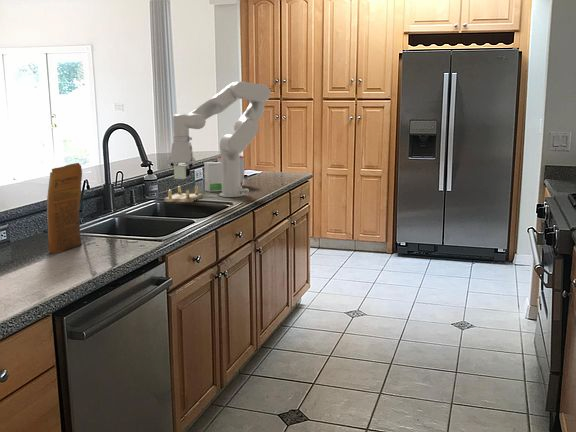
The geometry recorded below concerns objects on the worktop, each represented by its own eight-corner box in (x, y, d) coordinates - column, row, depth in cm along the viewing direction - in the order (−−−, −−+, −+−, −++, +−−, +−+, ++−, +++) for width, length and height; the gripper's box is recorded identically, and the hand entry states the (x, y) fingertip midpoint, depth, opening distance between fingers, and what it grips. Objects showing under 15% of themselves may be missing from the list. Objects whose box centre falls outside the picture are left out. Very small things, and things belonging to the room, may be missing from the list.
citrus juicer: (247, 184, 365) (247, 149, 361) (242, 188, 348) (241, 152, 344) (221, 183, 366) (220, 149, 363) (215, 187, 349) (214, 152, 346)
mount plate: (202, 196, 318) (201, 186, 317) (191, 202, 301) (191, 190, 300) (176, 196, 320) (175, 185, 319) (164, 201, 303) (163, 190, 302)
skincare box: (208, 192, 334) (207, 163, 331) (204, 190, 339) (203, 162, 336) (223, 190, 338) (222, 162, 335) (218, 189, 343) (217, 161, 340)
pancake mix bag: (93, 242, 216) (88, 162, 211) (57, 255, 198) (50, 168, 193) (77, 241, 218) (71, 161, 213) (40, 254, 200) (33, 167, 195)
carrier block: (190, 176, 313) (189, 164, 312) (184, 179, 303) (183, 166, 302) (180, 176, 313) (180, 164, 312) (174, 178, 304) (173, 166, 303)
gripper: (200, 139, 307) (201, 176, 311) (167, 138, 310) (168, 175, 313) (195, 140, 300) (196, 177, 303) (162, 139, 303) (163, 176, 306)
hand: (182, 176), depth 308 cm, fingers closed on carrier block, 5 cm apart
